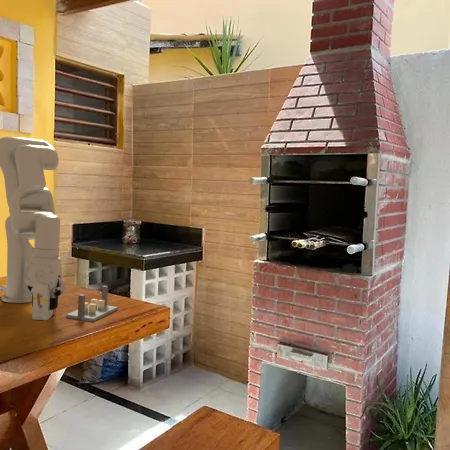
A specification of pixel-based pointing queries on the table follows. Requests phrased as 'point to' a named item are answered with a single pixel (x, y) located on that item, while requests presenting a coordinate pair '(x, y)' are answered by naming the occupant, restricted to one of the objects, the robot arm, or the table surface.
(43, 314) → the ink box
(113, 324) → the table surface
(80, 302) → the peg stand
